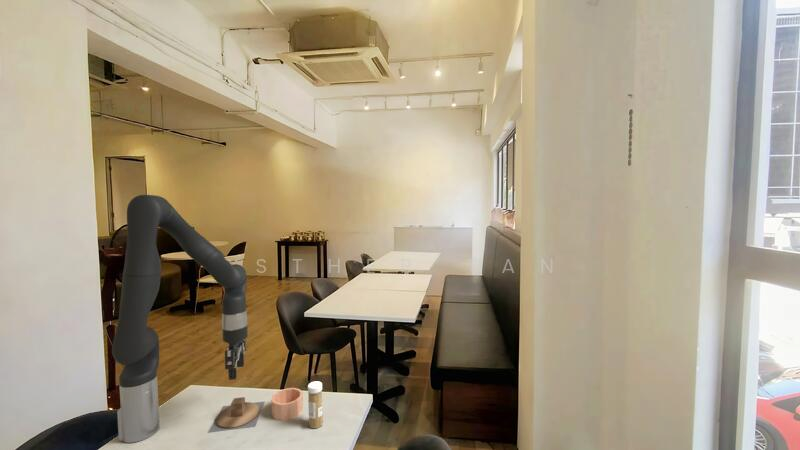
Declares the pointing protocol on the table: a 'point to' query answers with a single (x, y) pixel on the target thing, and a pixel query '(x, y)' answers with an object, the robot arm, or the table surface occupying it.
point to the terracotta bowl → (287, 404)
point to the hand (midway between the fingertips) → (236, 372)
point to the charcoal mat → (252, 424)
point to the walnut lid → (237, 414)
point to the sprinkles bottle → (315, 404)
